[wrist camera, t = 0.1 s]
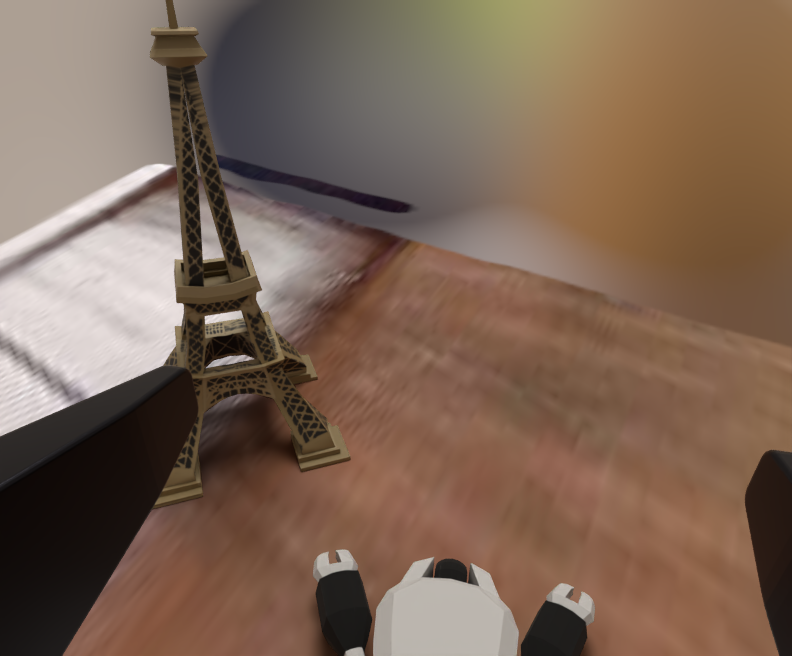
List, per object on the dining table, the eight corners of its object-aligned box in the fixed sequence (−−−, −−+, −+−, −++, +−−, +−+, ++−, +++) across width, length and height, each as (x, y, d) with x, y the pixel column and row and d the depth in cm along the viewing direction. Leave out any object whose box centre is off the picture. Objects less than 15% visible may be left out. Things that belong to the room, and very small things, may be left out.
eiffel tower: (145, 511, 28) (-59, -128, 15) (147, 388, 37) (16, -91, 24) (350, 461, 31) (327, -105, 18) (308, 358, 40) (272, -80, 27)
